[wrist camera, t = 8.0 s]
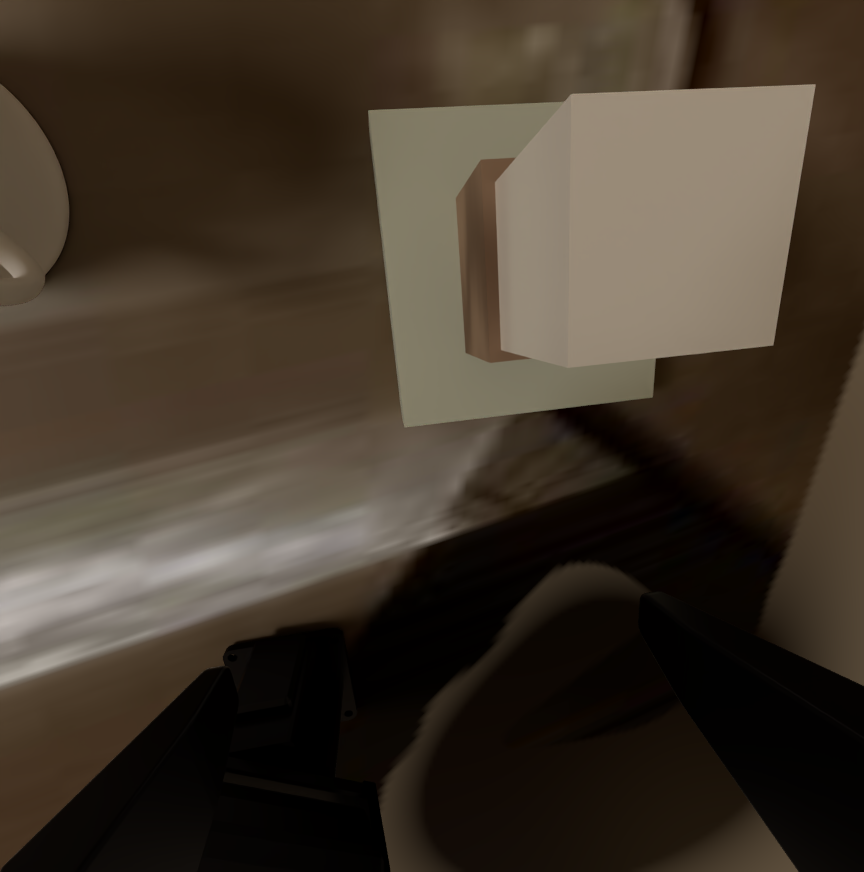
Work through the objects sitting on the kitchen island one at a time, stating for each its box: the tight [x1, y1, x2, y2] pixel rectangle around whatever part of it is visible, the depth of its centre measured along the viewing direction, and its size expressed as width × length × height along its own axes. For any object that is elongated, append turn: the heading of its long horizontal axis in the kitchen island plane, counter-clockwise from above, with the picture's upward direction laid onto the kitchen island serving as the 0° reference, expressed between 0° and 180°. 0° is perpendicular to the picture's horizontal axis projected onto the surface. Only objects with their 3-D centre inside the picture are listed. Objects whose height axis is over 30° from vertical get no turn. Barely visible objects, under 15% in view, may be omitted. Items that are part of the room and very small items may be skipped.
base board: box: [368, 102, 656, 427], centre depth 18 cm, size 12×12×2 cm
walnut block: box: [456, 158, 532, 363], centre depth 15 cm, size 6×6×4 cm
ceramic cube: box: [495, 84, 816, 368], centre depth 11 cm, size 5×5×5 cm
